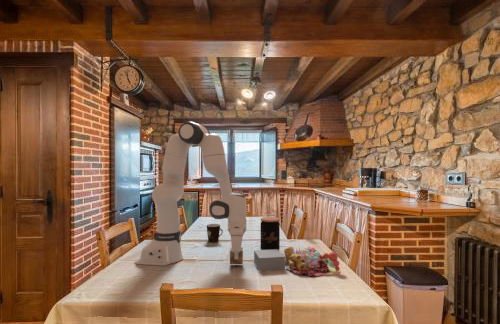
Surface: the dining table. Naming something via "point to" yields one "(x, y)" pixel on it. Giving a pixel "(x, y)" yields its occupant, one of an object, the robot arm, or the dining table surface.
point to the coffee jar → (270, 233)
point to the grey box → (269, 259)
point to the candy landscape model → (311, 262)
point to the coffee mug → (213, 232)
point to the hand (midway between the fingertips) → (236, 256)
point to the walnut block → (240, 257)
